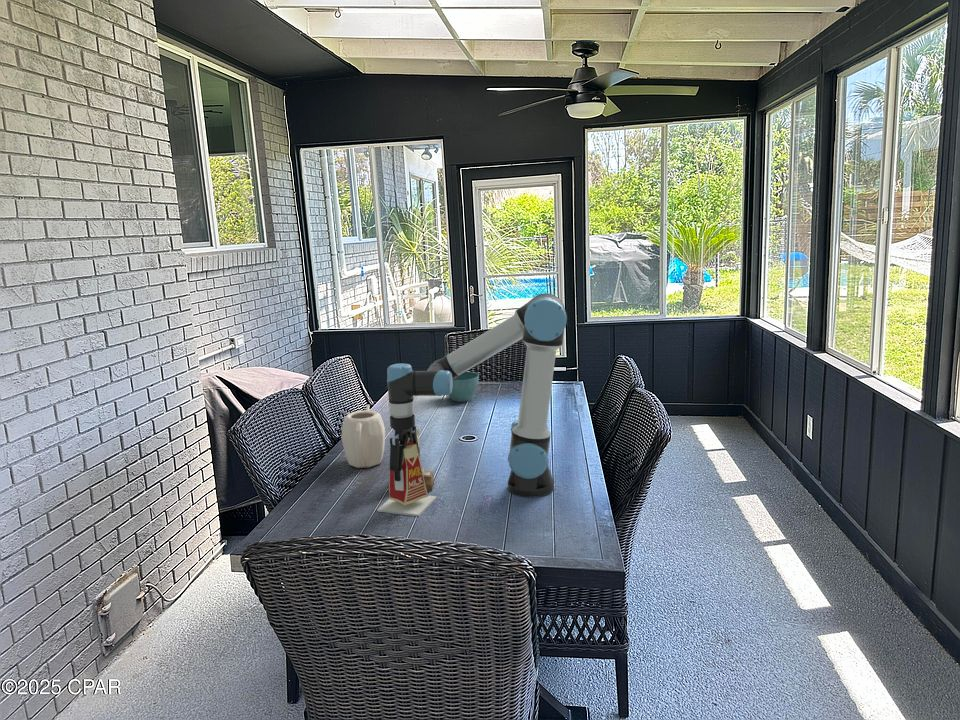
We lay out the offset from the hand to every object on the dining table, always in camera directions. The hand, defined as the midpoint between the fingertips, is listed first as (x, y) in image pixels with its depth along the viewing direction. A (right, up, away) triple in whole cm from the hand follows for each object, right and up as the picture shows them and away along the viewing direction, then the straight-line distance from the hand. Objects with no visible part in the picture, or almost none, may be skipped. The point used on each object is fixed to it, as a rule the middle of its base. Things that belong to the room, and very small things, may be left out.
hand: (406, 483), depth 209 cm
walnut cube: (+5, -4, +14) cm, 16 cm away
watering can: (-19, 0, +41) cm, 45 cm away
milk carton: (0, -5, +1) cm, 5 cm away
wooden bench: (-2, -3, +20) cm, 20 cm away
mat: (0, -7, +1) cm, 7 cm away
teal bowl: (+14, +19, +122) cm, 124 cm away
